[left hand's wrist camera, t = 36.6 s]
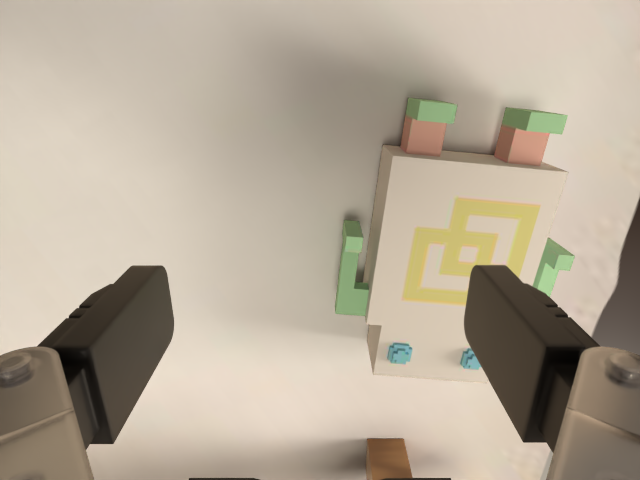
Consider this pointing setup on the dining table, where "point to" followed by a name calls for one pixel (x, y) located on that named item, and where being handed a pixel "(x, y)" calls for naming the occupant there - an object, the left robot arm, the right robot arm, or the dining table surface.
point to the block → (387, 459)
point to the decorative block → (449, 237)
